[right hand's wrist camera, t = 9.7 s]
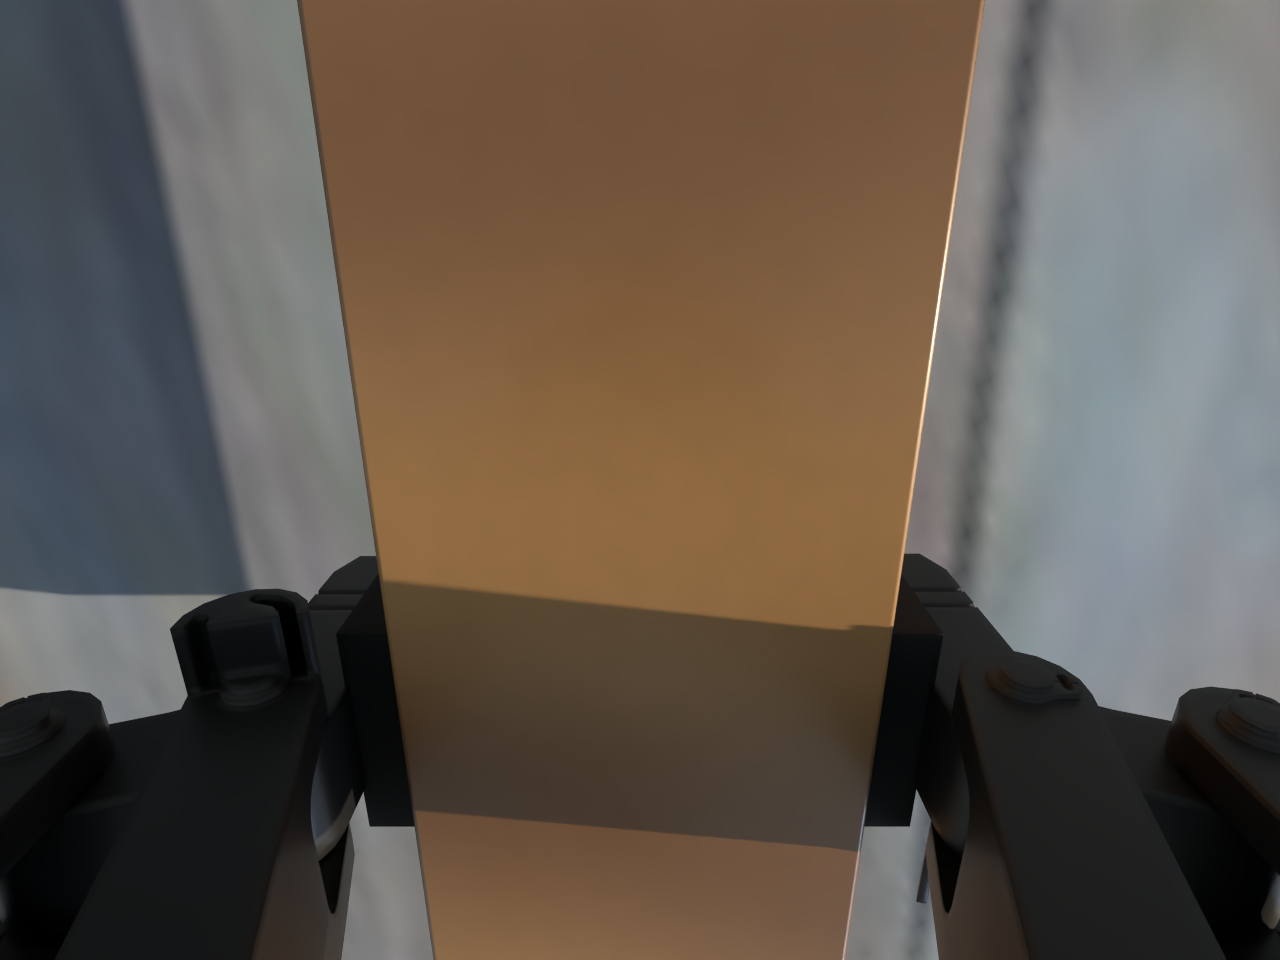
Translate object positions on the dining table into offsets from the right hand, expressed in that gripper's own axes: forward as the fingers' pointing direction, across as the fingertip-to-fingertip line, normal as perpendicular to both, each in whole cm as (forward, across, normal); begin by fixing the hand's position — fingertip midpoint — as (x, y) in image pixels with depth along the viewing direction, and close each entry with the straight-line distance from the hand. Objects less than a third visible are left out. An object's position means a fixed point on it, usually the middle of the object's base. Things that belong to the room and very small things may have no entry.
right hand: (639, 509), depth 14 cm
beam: (+1, 0, -22) cm, 22 cm away
